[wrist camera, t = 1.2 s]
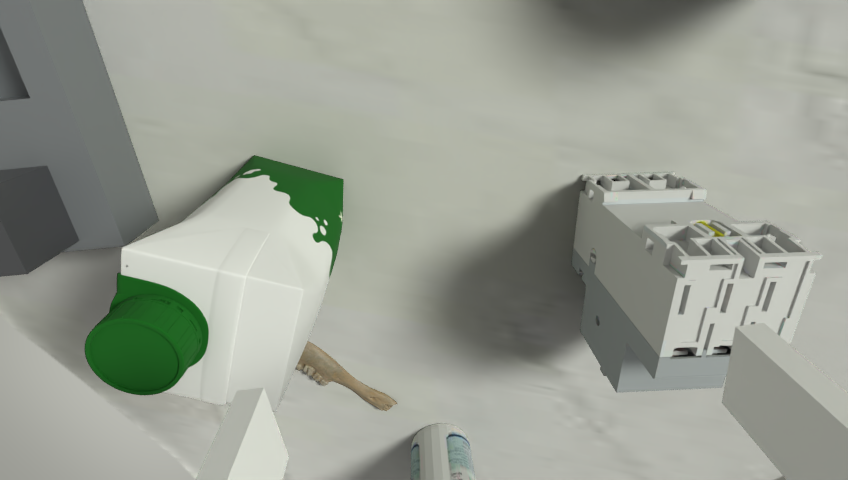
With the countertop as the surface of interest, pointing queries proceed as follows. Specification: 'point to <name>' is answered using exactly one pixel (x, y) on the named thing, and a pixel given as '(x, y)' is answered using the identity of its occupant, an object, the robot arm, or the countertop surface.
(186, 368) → the milk carton
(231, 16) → the countertop surface
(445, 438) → the spray can
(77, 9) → the power strip
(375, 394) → the jawbone
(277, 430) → the robot arm
